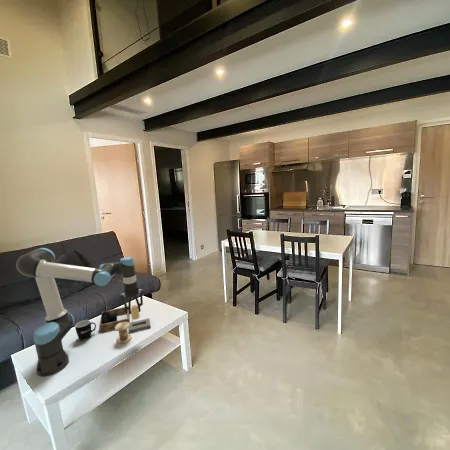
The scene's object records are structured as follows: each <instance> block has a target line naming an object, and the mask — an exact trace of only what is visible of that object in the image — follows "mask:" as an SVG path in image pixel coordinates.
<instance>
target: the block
mask: <svg viewBox="0 0 450 450" xmlns="http://www.w3.org/2000/svg"><path fill="white" fill-rule="evenodd" d="M137 306H138V305H137V304H134V305H131V308H132V313H133V319H132V320H133V321H134V320H138V319H140V317H139V318H138V312H137Z"/></svg>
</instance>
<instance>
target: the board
mask: <svg viewBox="0 0 450 450" xmlns="http://www.w3.org/2000/svg"><path fill="white" fill-rule="evenodd" d="M151 328H152V327H151V320H150V317H149V318H145V319H142V320H137V321H132V322H131V321H130V326H129V327H128V334H131V333H135V332H139V331H144V330H147V329H151Z"/></svg>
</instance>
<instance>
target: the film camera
mask: <svg viewBox="0 0 450 450" xmlns="http://www.w3.org/2000/svg"><path fill="white" fill-rule="evenodd" d="M106 311H107V310H104V311H101V315H100V320H101V319H102V324H105V323H110V322H114V321H118V315H116V314H115V313H114V314H110V312H106Z"/></svg>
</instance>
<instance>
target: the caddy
mask: <svg viewBox="0 0 450 450" xmlns="http://www.w3.org/2000/svg"><path fill="white" fill-rule="evenodd" d="M105 311H106V312H110V314H114V313H115V314H116V315H117V316H121V315H125V313H126V314H127V318H124V319H119V320H118V319H117V321H114V322H110V323H105V324H102V319H101V318H100V320H99V325H98V327H99V332H100V333H103V332H106V331H107V332H108V331H111V330H115V326H116V325H117V324H119V323H121V322H129V323H131V319H130V316H131V314H129V310H128V309H125V306H123V307H117V308H114V309H110V310H105Z"/></svg>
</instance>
